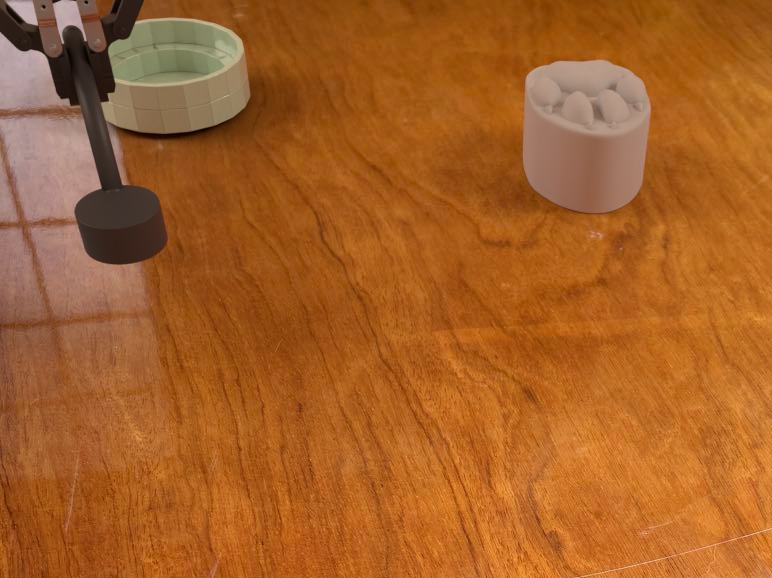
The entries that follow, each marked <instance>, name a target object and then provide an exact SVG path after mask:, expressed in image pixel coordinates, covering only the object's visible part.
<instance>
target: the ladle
mask: <svg viewBox="0 0 772 578" xmlns="http://www.w3.org/2000/svg"><path fill="white" fill-rule="evenodd" d="M61 37H62V38H61V39H62V41H63V44H64V45H65V47H66V50H67V54H68V58H69V62H70V66H71V69H72V76H73V80H74V84H75V88H76V91H77V95H78V99H79V103H80V105H79V106H80V110H81V114H82V119H83V122H84V126H85V129H86V133H87V138H88V141H89V145H90V148H91V152H92V153H91V154H92V156H93V160H94V165H95V168H96V172H97V176H98V179H99V183H100V187H101V188H98V189H96V190H92V191H91V192H89V193H87V194H86V195H84V196H82V197H81V198H80V199H79V200H78V201H77V203H76V204H75V207H74V210H73V212H74V213H73V214H74V217H75V221H76V224H77V228H78V231H79V235H80V238H81V241H82V244H83V248H84V252H85V253H86V254H87V255H88V257H89V258H91V259H92V260H94V261H96V262H99V263H101V264H106V265H114V266H123V265H132V264H137V263H141V262H144V261H146V260H149V259H152V258H154V257H155V256H156V255H158V254H160V253H161V252H162V251H163V250H164V249H165V248H166V246H167V243H168V241H169V238H168V237H169V236H168V232H167V227H166V222H165V218H164V214H163V210H162V205H161V201H160V200H161V199H160V198H159V196H158V195H157V194H156V193H155V192H154V191H153V190H151V189H148V188H145V187H143V186H139V185H132V184H123V182H122V178H121V175H120V171H119V167H118V163H117V159H116V158H117V157H116V154H115V151H114V147H113V144H112V139H111V135H110V132H109V129H108V124H107V121H106V120H105V117H104V113H103V109H102V105H101V101H100V97H99V94H98V90H97V86H96V82H95V78H94V75H93V71H92V69H91V65H90V62H89V58H88V54H87V50H86V46H85V41H86V40H85V36H84V33H83V31H82V29H81V28H80V27H78V26H77V25H73V24H69V25H66V26H65V27H64V28H63V29H62V32H61Z"/></svg>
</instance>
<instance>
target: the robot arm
mask: <svg viewBox="0 0 772 578" xmlns="http://www.w3.org/2000/svg"><path fill="white" fill-rule="evenodd" d="M31 1H32V5H33V10H34V14H35V18H36V22H37V24H34V23H28V22H27V21H26V20H24V18H23V17H22V16H21V15H20V14H19V13H18V12H17V11H16V10H15V9H14V8H13V7H12V6H11V5H10V4H9V3H8V2H7V1H6V0H0V34H1V35H2V36H4V38H5V39H6V40H7V41H8V42H9V43H10V44H12V46H13V47H15V48H16V50H18V51H20V52H23V53H24V52H29V51H35V52H39V53H42V54H43V55H44V56H45V58H46V59H47V63H48V67H49V70H50V74H51V77H52V82H53V85H54V89H55V93H56V95H57V96H58V97H59V99H60V100H68V102H69V106H70V107H79V106H80V103H79V99H78V95H77V91H76V88H75V84H74V80H73V76H72V69H71V66H70V62H69V58H68V54H67V50H66V47H65V45H64V43H63V42H62V41H63V40H62V38H61V35H60V32H59V31H60V30H59V26H58V21H57V17H56V12H55V8H54V4H56V3H59V2H61V1H62V0H31ZM69 1H71V2H76V7H77V10H78V13H79V17H80V19H81V23H82V28H83V31H84V35H85V39H86V40H85V46H86V50H87V54H88V58H89V62H90V65H91V69H92V71H93V75H94V78H95V82H96V86H97V90H98V94H99V97H100V101H101V103H102V102H109V98H108V93H115V87H116V84H115V80H114V75H113V71H112V66H111V62H110V58H109V53H108V49H109V46H110V45H111V44H112V43H113V42H115V41H117V40H119V39H120V40H125V39H127V38H129V37H130V35H131V32H132V30H133V27H134V25H135V22H136V21H138V20H137V19H138V17H139V15H140V11H141V9H142V7H143V5H144V2H145V0H113V1H112V3H111V5H110V8H109V11H108V13H107V15H104V16H103V17H100V13H99V9H98V5H97V1H96V0H69Z"/></svg>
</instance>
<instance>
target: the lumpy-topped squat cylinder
mask: <svg viewBox="0 0 772 578" xmlns="http://www.w3.org/2000/svg"><path fill="white" fill-rule="evenodd" d="M523 109H524V111H523V136H522V138H523V139H522V164H523V170H524V173H525V176H526V178H527V181H528V184H529V185H530V187H531V189H532V190H534V191H535V192H536V193H538V194H539V195H540V196H542V197H543V198H545V199H547V200H548V201H549V202H551V203H553V204H555V205H557V206H559V207H562V208H565V209H568V210H571V211H574V212H579V213H583V214H593V215H594V214H605V213H611V212H614V211H616V210H619V209H620V208H623V207H624V206H626V205H628V204H629V203H630V202H632V201H633V200H634V198H635V197H636V196H637V195H638V193H639V192H640V190H641V188H642V186H643V182H644V173H645V164H646V157H647V148H648V139H649V131H650V123H651V116H652V115H651V114H652V107H651V101H650V98H649V96H648V93H647V89H646V85H645V83H644V81H643V80H642V79H641V78H640V77H639V76H637V75H636V74H634V72H633V71H632V70H630V69H628V68H626V67H623V66H621V65H620V66H619V65H616V64H614V63H612V62H610V61H608V60H606V59H595V60H585V61H577V60H575V61H574V60H570V61H569V60H557V61H554V62H552V63H550V64H544V65H541V66H537V67H536V68H533V69H532V70H530V72H529V73H528V74H527V75H526V77H525V82H524V108H523Z"/></svg>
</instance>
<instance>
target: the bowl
mask: <svg viewBox="0 0 772 578" xmlns="http://www.w3.org/2000/svg"><path fill="white" fill-rule="evenodd" d="M245 51H246V50H245V47H244V43H243V39H241V38H240V37H239V36H238V35H237V34H236V33H235V32H234V31H233V30H231V29H229V28H227V27H224V26H223V25H220V24H219V23H215V22H210V21H207V20H201V19H196V18H185V17H184V18H183V17H160V18H147V19H141V20H136V22H135V25H134V27H133V30H132V32H131V35H130V37H129V38H127V39H125V40H120V39H119V40H117V41H115V42H113V43H112V44H111V45H110V46H109V49H108V53H109V58H110V62H111V66H112V71H113V75H114V80H115V84H116V87H115V93H108V98H109V102H102V103H101V105H102V109H103V113H104V117H105V120H106V122H108V123H110V124H113V125H114V126H115V127H117V128H120V129H126V130H129V131H134V132H138V133H145V134H146V133H147V134H159V135H160V134H162V135H165V134H166V135H168V134H177V133H178V134H179V133H189V132H193V131H199V130H202V129H207V128H210V127H215V126H217V125H219V124H221V123H224V122H226V121H228V120H230V119H232V118H234V117H235V116H236V115H237V114H239V113H241V112H242V110H244V109H245V108H246V106H247V104H248V103H249V100H250V98H251V96H252V95H251V87H250V79H249V74H248V65H247V59H246V53H245Z"/></svg>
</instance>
